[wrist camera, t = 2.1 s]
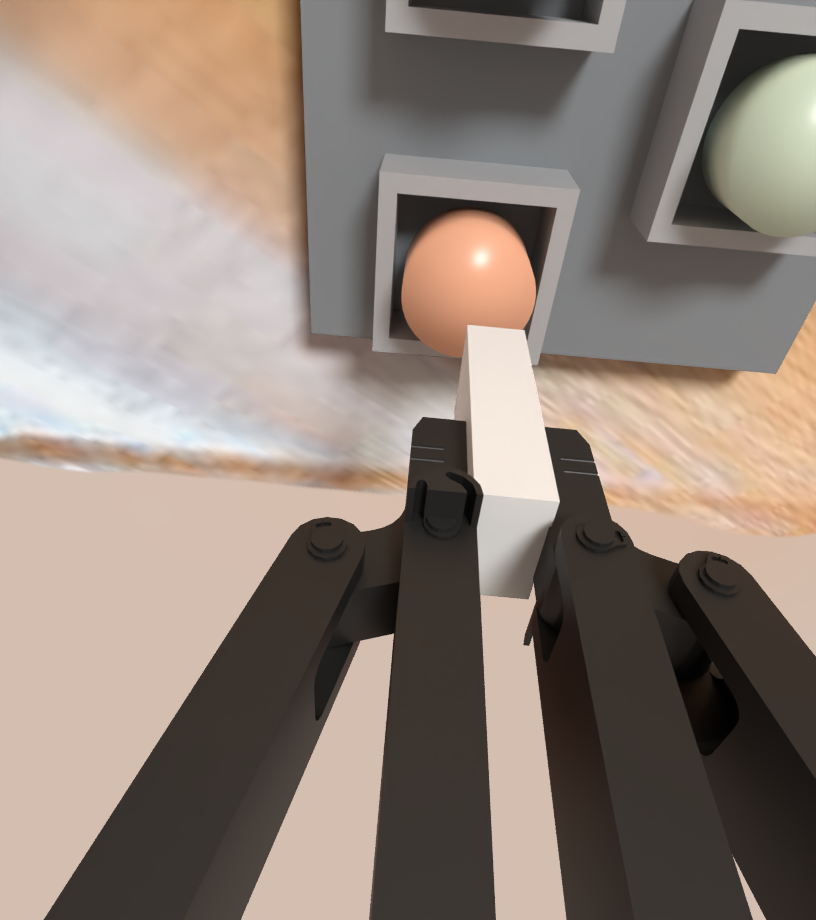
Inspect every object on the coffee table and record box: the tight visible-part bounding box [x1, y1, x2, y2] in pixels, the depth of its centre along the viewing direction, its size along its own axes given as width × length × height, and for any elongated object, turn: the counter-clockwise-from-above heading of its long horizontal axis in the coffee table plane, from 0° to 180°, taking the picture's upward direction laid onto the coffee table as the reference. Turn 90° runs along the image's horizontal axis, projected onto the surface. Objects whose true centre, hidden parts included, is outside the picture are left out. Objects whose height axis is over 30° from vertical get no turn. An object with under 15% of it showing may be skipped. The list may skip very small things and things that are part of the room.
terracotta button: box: [401, 207, 536, 357], centre depth 20 cm, size 4×4×2 cm
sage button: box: [702, 53, 816, 237], centre depth 17 cm, size 4×4×2 cm
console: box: [300, 0, 816, 374], centre depth 19 cm, size 20×18×4 cm
